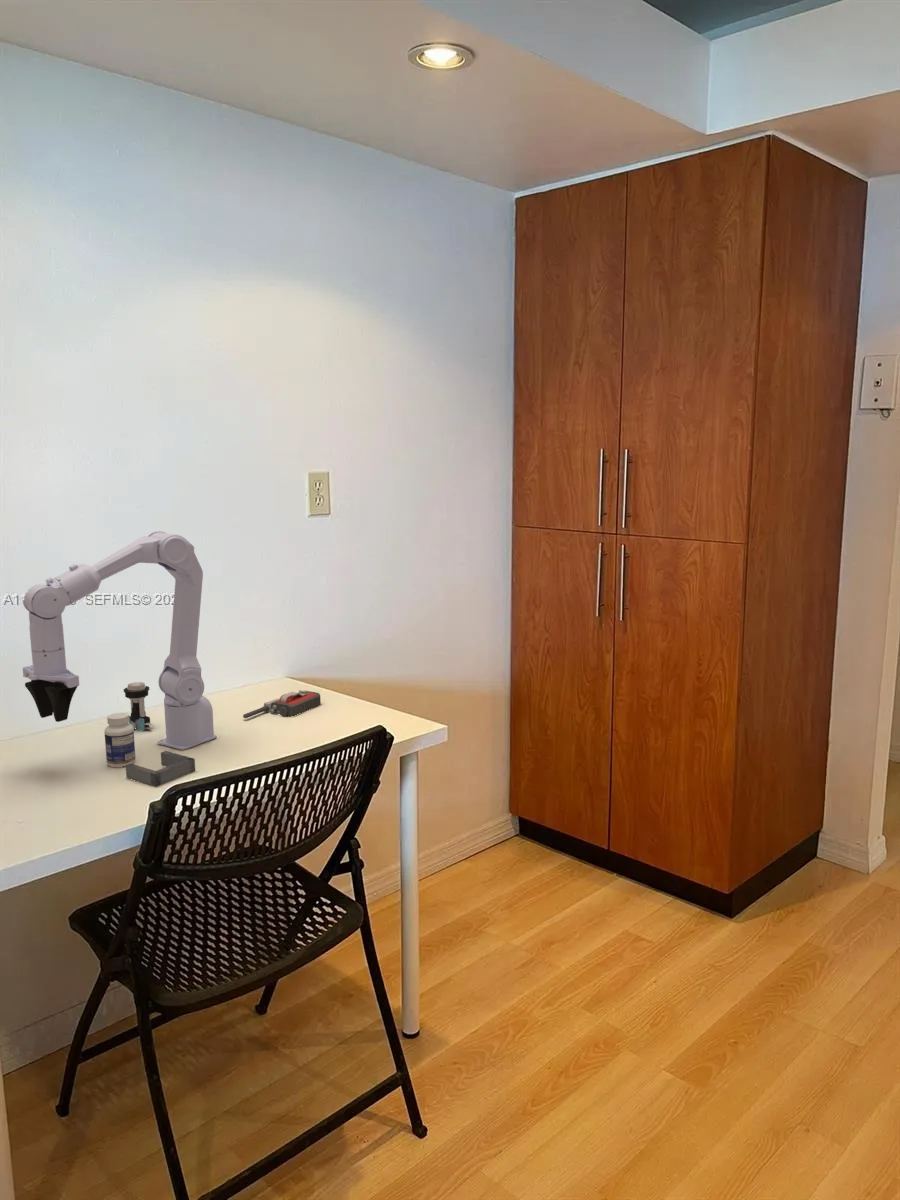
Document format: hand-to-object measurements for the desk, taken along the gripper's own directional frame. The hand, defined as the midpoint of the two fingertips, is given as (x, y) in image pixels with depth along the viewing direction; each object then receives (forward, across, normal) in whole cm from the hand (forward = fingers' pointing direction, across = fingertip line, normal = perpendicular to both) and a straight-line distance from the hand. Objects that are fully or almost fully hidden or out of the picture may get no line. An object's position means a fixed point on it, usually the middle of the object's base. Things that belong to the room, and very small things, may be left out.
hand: (54, 718), depth 171 cm
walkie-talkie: (+11, +11, +51) cm, 53 cm away
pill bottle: (+11, +7, +9) cm, 16 cm away
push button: (+11, -7, +25) cm, 28 cm away
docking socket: (+10, +18, +9) cm, 23 cm away
